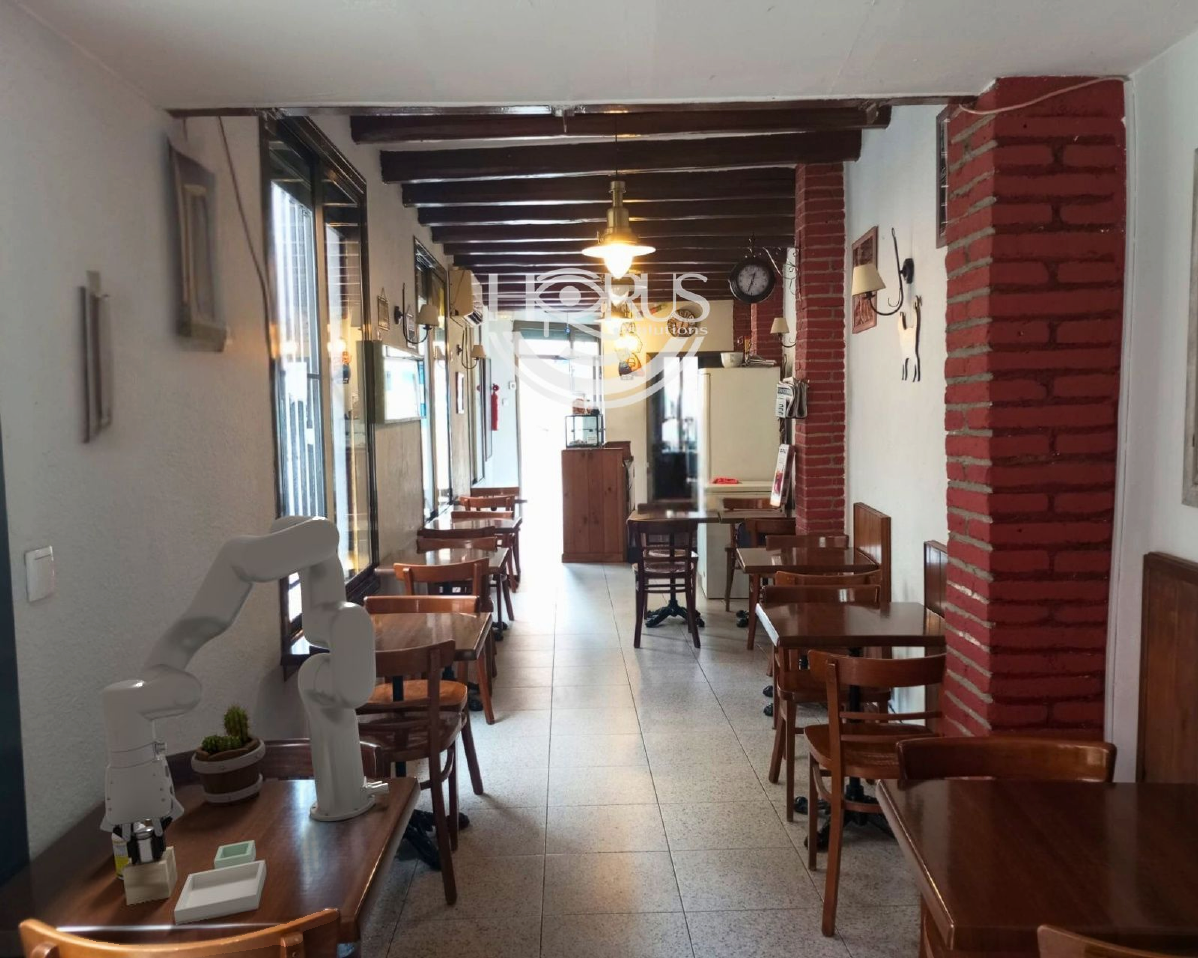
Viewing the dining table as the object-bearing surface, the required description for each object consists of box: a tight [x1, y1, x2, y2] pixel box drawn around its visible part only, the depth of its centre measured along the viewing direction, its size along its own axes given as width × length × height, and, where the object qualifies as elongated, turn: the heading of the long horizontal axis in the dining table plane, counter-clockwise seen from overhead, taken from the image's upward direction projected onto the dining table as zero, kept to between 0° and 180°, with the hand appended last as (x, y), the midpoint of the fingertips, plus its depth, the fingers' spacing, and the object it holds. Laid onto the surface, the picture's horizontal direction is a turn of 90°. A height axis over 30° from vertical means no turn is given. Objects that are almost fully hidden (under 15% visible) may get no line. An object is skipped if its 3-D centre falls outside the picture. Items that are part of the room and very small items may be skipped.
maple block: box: [123, 845, 179, 906], centre depth 159 cm, size 7×7×6 cm
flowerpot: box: [190, 702, 266, 807], centre depth 197 cm, size 14×15×20 cm
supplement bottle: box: [111, 822, 146, 881], centre depth 167 cm, size 6×6×10 cm
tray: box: [173, 859, 267, 925], centre depth 155 cm, size 12×12×2 cm
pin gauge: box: [135, 825, 159, 865], centre depth 159 cm, size 3×3×11 cm
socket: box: [213, 839, 257, 869], centre depth 166 cm, size 6×6×3 cm
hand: (148, 857), depth 159 cm, fingers closed on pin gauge, 3 cm apart
